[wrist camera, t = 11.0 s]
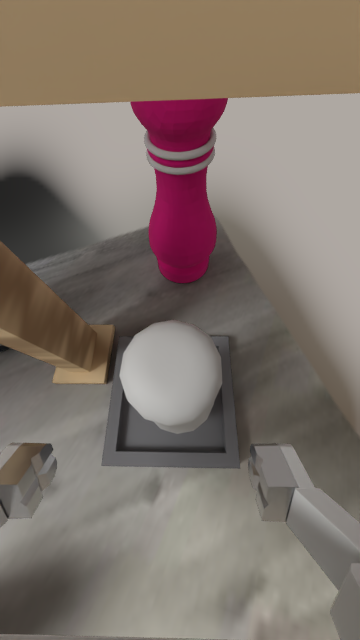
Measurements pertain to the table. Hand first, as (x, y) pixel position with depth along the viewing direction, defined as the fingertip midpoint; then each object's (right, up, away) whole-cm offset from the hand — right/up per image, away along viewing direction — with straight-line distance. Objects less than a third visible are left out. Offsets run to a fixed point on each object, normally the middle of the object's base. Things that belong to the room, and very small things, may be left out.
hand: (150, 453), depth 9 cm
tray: (0, -2, +12) cm, 12 cm away
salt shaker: (+1, -2, +11) cm, 11 cm away
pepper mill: (+2, +13, +18) cm, 22 cm away
